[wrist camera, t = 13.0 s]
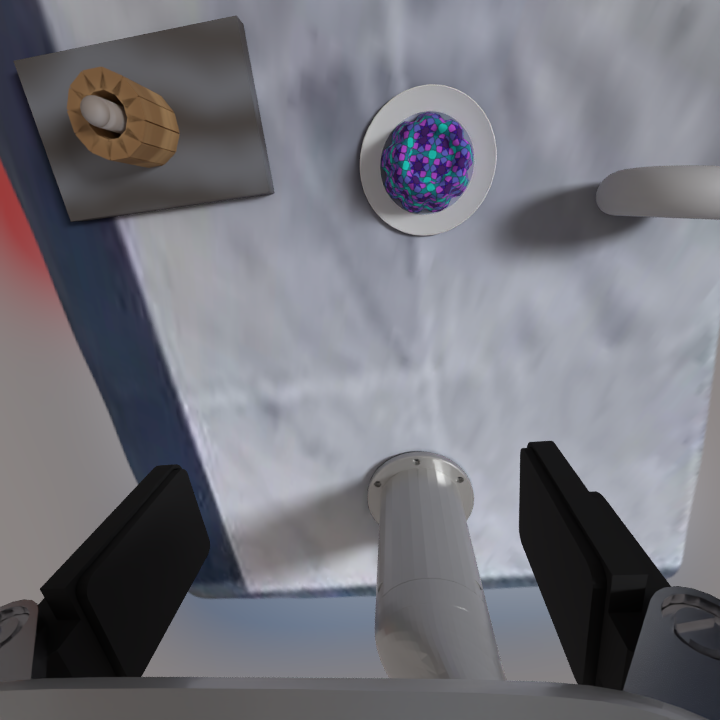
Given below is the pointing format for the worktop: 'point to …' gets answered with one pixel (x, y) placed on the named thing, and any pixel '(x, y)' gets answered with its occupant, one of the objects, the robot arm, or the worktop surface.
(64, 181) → the needle stand
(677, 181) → the donut
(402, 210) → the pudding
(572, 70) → the worktop surface
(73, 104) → the bead
